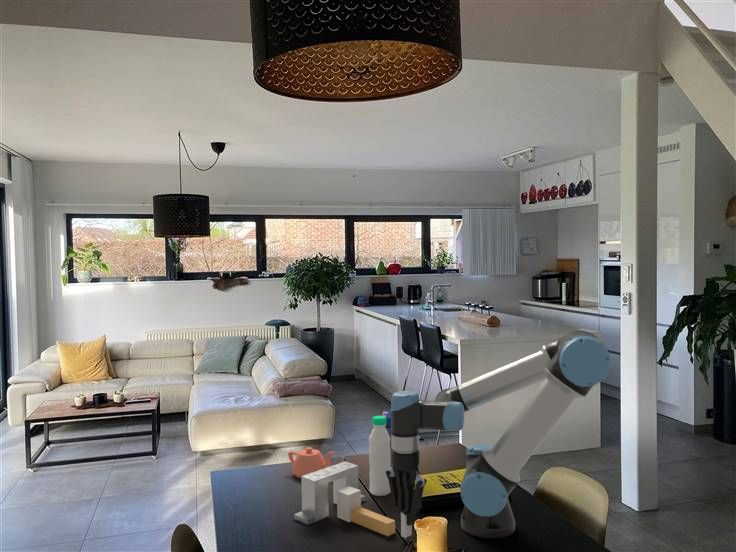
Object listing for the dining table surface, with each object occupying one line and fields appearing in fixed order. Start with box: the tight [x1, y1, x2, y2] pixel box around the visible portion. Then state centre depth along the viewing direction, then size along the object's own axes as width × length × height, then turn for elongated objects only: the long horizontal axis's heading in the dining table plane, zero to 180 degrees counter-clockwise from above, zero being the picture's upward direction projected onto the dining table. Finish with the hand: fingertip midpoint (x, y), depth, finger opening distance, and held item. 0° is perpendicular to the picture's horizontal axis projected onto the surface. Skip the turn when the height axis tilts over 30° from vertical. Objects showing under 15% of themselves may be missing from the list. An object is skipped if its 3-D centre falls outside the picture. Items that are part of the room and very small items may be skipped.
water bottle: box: [368, 415, 391, 497], centre depth 197 cm, size 7×7×25 cm
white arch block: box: [293, 461, 367, 526], centre depth 184 cm, size 6×24×12 cm, turn 136°
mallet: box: [336, 486, 396, 537], centre depth 174 cm, size 20×5×8 cm, turn 46°
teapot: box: [287, 446, 336, 479], centre depth 215 cm, size 12×18×10 cm
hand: (406, 535), depth 163 cm, fingers closed
